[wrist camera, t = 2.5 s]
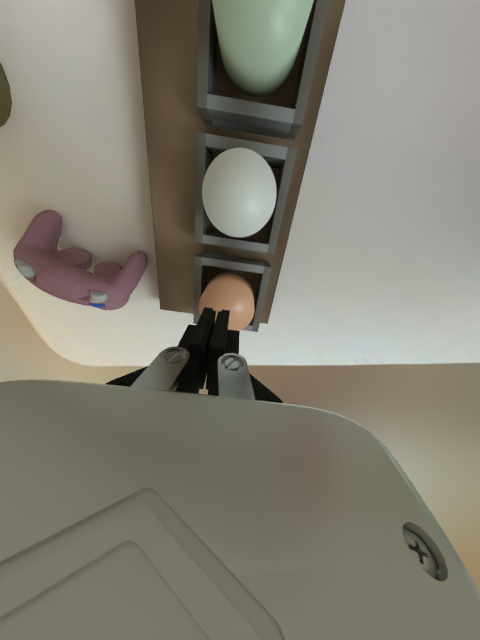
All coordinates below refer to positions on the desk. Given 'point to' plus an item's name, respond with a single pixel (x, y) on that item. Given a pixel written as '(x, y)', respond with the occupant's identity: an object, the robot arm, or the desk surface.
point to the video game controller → (73, 267)
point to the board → (221, 145)
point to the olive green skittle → (4, 97)
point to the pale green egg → (260, 40)
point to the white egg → (239, 192)
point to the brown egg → (230, 299)
